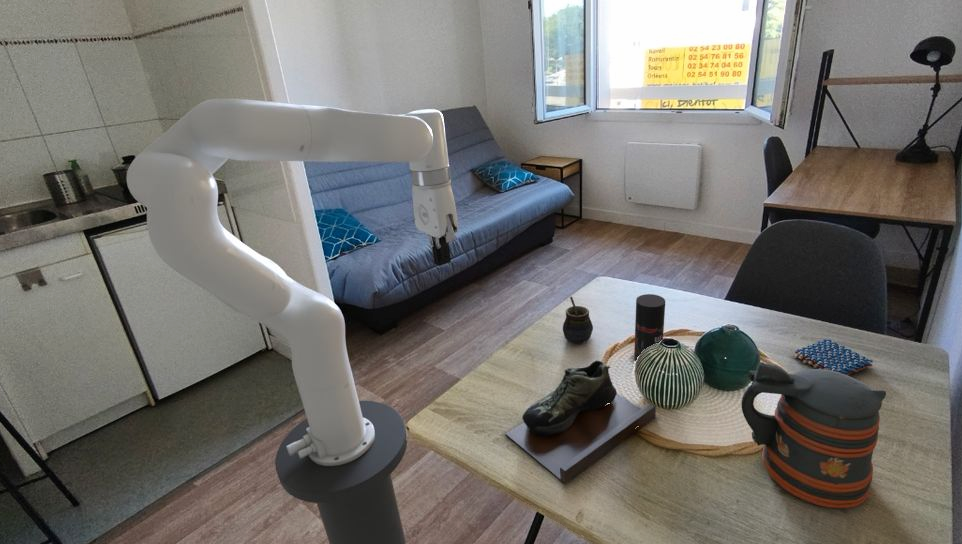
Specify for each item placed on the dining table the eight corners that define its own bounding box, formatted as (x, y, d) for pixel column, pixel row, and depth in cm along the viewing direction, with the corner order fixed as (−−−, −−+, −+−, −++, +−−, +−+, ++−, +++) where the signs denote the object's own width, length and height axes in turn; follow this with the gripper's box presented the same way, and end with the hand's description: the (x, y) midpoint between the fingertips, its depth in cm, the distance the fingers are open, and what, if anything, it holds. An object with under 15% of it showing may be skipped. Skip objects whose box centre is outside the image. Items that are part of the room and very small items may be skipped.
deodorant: (652, 370, 110) (655, 309, 104) (628, 360, 114) (630, 301, 108) (666, 358, 113) (670, 299, 107) (643, 348, 117) (645, 291, 111)
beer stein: (745, 501, 78) (762, 397, 69) (725, 434, 90) (738, 340, 82) (887, 516, 73) (923, 406, 65) (845, 444, 86) (871, 345, 78)
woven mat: (825, 343, 113) (827, 336, 112) (873, 368, 104) (876, 359, 103) (790, 356, 110) (792, 348, 109) (837, 382, 101) (839, 374, 100)
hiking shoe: (512, 422, 98) (509, 383, 94) (593, 379, 108) (593, 343, 104) (539, 447, 91) (537, 407, 87) (622, 399, 101) (624, 361, 97)
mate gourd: (573, 350, 119) (572, 313, 115) (556, 336, 126) (555, 301, 122) (598, 342, 122) (598, 305, 118) (580, 328, 128) (580, 293, 124)
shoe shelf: (565, 484, 84) (565, 471, 82) (505, 434, 96) (504, 422, 94) (655, 418, 96) (656, 405, 95) (592, 381, 108) (592, 369, 107)
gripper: (396, 175, 101) (409, 259, 109) (434, 186, 90) (446, 279, 97) (428, 168, 105) (439, 249, 113) (468, 177, 94) (478, 267, 101)
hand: (442, 263), depth 105 cm, fingers closed
